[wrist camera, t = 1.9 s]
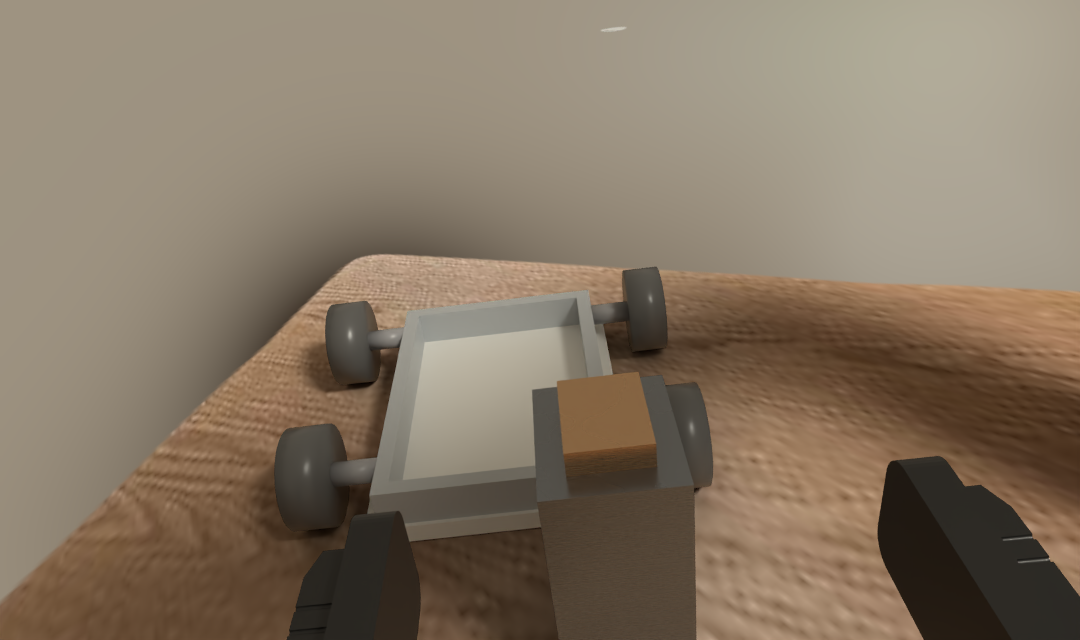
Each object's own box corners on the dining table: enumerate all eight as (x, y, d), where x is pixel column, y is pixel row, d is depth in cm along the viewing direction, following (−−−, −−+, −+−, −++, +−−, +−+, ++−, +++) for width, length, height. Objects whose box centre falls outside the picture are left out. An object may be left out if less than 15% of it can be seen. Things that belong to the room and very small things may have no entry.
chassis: (655, 320, 52) (652, 252, 49) (712, 508, 37) (712, 426, 35) (354, 355, 52) (335, 289, 50) (296, 553, 38) (265, 476, 35)
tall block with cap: (669, 556, 35) (661, 353, 30) (696, 677, 30) (693, 461, 24) (558, 568, 35) (528, 368, 30) (566, 691, 30) (533, 478, 25)
